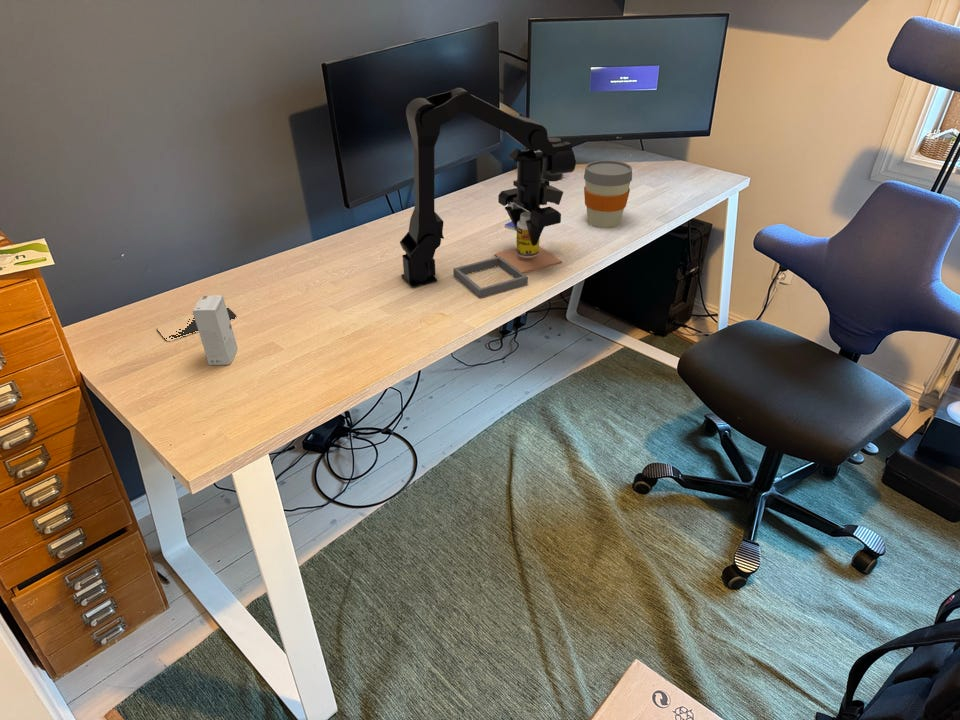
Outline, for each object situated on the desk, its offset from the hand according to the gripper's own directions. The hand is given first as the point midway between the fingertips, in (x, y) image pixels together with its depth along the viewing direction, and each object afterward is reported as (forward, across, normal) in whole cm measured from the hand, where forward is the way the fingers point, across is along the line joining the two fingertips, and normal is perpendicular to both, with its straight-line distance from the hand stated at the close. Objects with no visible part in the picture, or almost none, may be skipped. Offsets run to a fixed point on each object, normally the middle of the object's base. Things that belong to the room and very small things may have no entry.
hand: (527, 240), depth 164 cm
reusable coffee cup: (+5, +9, -31) cm, 32 cm away
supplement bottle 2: (+5, +46, -39) cm, 60 cm away
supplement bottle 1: (+4, 0, 0) cm, 4 cm away
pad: (+5, 0, 0) cm, 5 cm away
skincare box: (+6, -6, +74) cm, 75 cm away
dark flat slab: (+6, +10, +76) cm, 77 cm away
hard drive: (+6, +18, -13) cm, 23 cm away
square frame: (+5, -5, +13) cm, 15 cm away
